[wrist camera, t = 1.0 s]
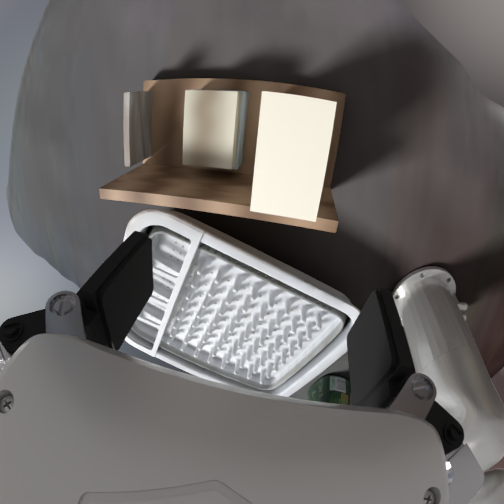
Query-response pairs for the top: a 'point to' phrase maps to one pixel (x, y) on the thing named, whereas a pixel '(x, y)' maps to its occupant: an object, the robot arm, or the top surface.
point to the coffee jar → (330, 390)
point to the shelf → (209, 179)
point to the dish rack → (235, 309)
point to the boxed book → (291, 154)
